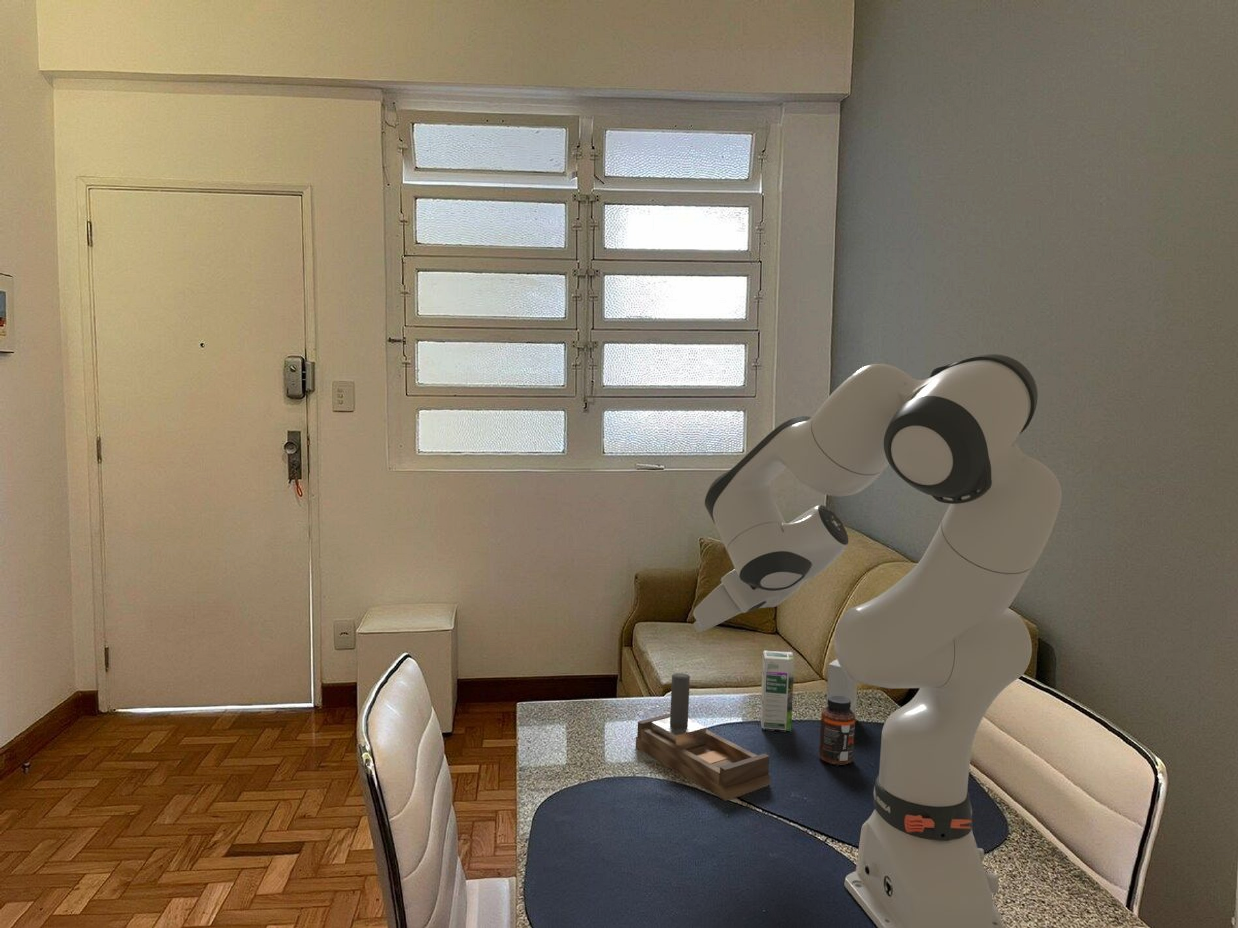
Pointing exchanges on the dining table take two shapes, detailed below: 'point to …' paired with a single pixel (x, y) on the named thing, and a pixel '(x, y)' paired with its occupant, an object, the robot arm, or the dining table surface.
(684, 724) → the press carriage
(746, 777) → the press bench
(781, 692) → the syrup box
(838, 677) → the skincare box
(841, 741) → the supplement bottle
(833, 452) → the robot arm
